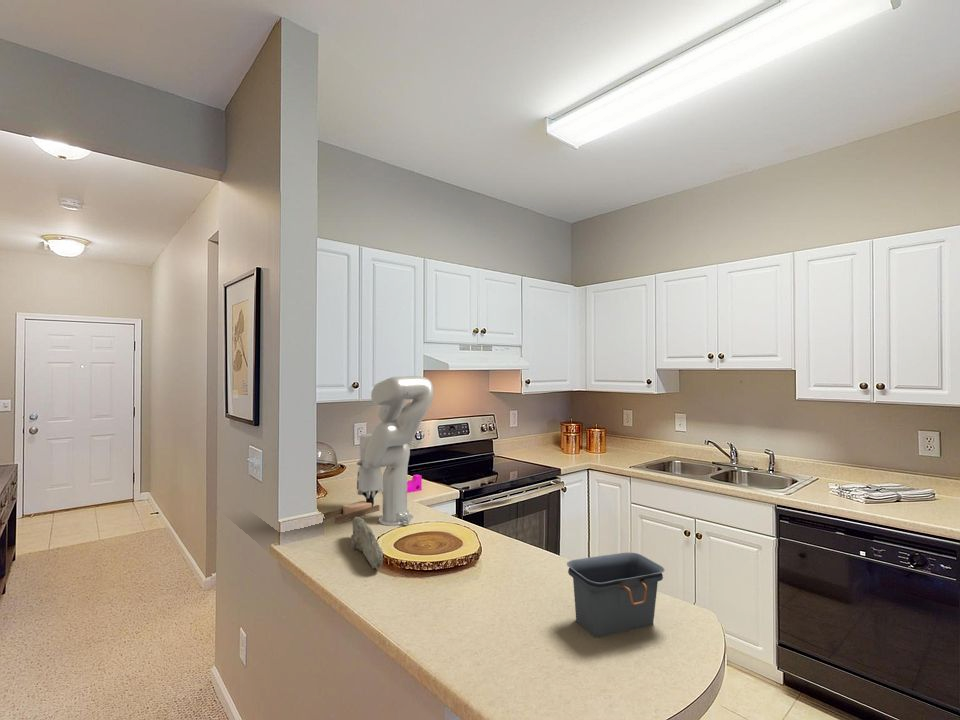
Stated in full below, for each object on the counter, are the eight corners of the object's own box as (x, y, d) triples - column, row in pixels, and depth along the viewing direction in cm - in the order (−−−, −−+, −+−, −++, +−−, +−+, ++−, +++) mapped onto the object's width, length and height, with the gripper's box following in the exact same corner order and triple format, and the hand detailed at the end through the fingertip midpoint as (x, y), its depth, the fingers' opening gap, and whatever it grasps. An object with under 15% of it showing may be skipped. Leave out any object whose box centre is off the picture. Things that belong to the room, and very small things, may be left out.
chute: (379, 511, 208) (379, 505, 208) (336, 524, 191) (336, 518, 191) (364, 507, 214) (364, 501, 214) (321, 519, 197) (321, 513, 197)
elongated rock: (389, 575, 146) (389, 541, 146) (371, 579, 143) (371, 544, 143) (359, 538, 177) (359, 510, 177) (344, 540, 174) (344, 512, 174)
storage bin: (633, 604, 128) (633, 549, 128) (677, 635, 114) (677, 572, 114) (561, 620, 120) (561, 561, 120) (599, 655, 106) (599, 588, 106)
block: (371, 512, 207) (371, 503, 207) (350, 518, 199) (350, 508, 199) (363, 509, 211) (363, 500, 211) (342, 515, 203) (342, 505, 203)
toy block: (415, 488, 246) (415, 473, 246) (421, 491, 240) (421, 475, 240) (387, 493, 237) (387, 477, 237) (393, 496, 232) (393, 480, 232)
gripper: (355, 466, 202) (356, 512, 201) (389, 462, 210) (390, 506, 210) (348, 464, 208) (349, 508, 208) (382, 460, 217) (383, 502, 216)
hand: (369, 507), depth 209 cm, fingers closed
